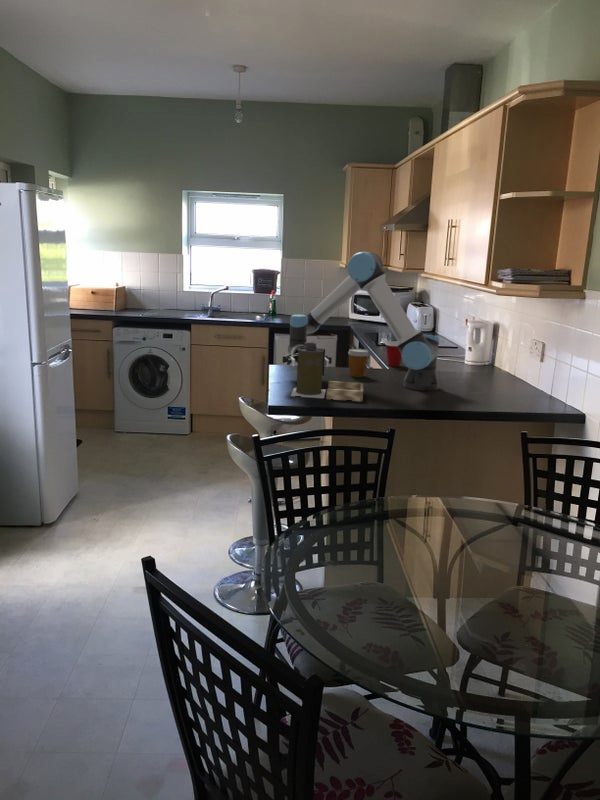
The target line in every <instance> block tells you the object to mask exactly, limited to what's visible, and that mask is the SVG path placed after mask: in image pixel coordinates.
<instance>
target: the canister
mask: <svg viewBox="0 0 600 800" xmlns="http://www.w3.org/2000/svg"><path fill="white" fill-rule="evenodd" d="M304 344H305V345H306V347H303V348H298V363H297V369H296V370H297V371H296V388H297V389H296V392H297V393H299V394H304V395H318V394H321V393H322V391H321V389H322V387H323V386H322V383H323V382H322V381H323V377H324V376H325V365H324V362H325V356H326V349H325V348H323V347H319V348H318V347H317V344H316V343H315V342H314V341H313V342H312V341H310V342H307V341H306V343H304Z"/></svg>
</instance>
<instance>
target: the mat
mask: <svg viewBox="0 0 600 800" xmlns="http://www.w3.org/2000/svg"><path fill="white" fill-rule="evenodd" d="M296 389H297V387H294V388H293V390H292V391H291V394H290V397H295V396H301V397H300V398H313V399H325V397H326V396H325V395H326V393H327V389H322V388H321V391H322V393H321V394H318V395H304V394H299V393H297V392H296Z"/></svg>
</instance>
